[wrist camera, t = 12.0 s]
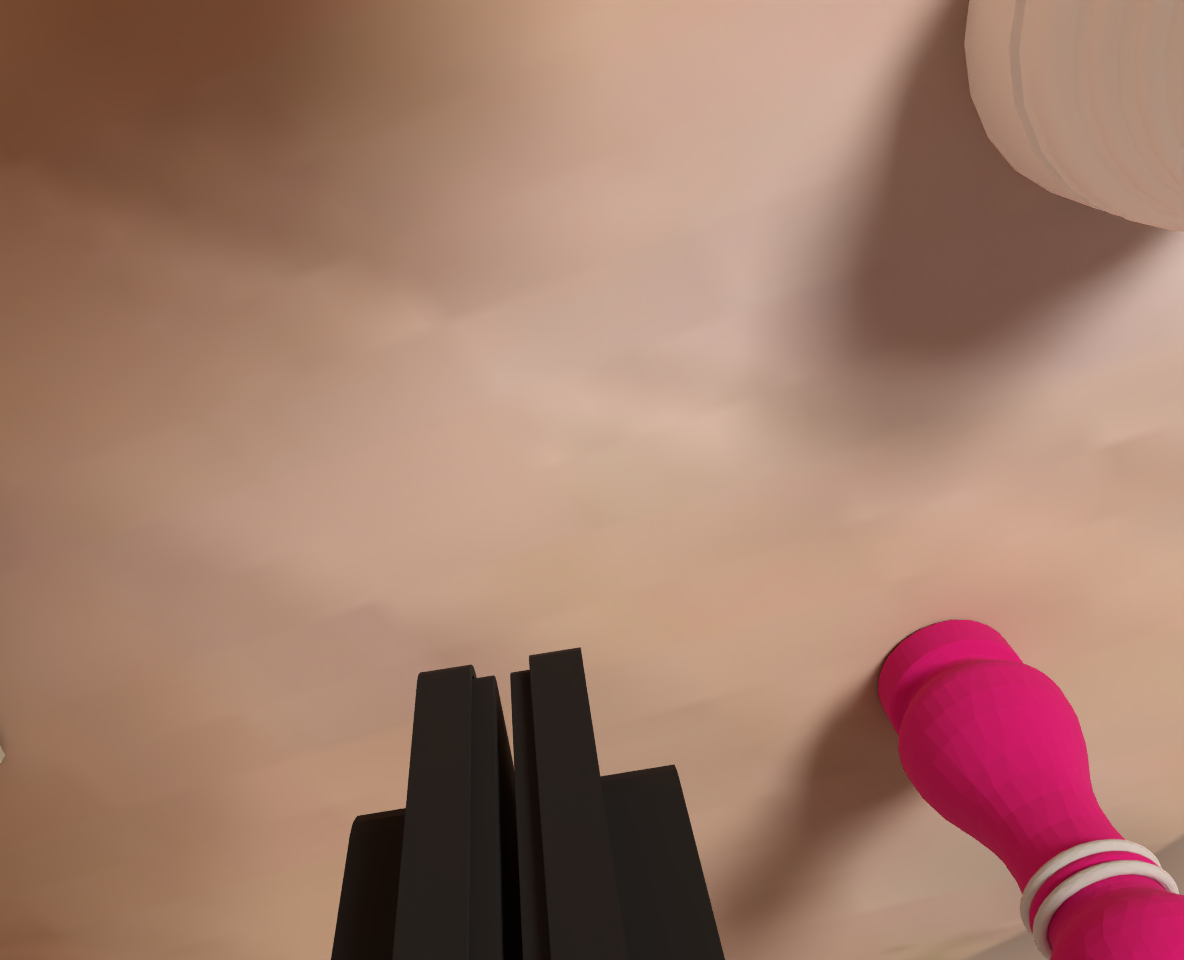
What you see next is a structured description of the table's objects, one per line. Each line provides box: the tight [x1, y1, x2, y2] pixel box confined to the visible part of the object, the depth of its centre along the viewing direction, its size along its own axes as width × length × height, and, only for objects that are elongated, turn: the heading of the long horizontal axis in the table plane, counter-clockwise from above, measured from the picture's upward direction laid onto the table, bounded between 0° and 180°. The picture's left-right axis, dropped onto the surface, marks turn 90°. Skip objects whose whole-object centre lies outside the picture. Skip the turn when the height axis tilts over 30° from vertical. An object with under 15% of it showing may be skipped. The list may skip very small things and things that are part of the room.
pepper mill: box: [878, 620, 1184, 960], centre depth 37 cm, size 7×7×20 cm
